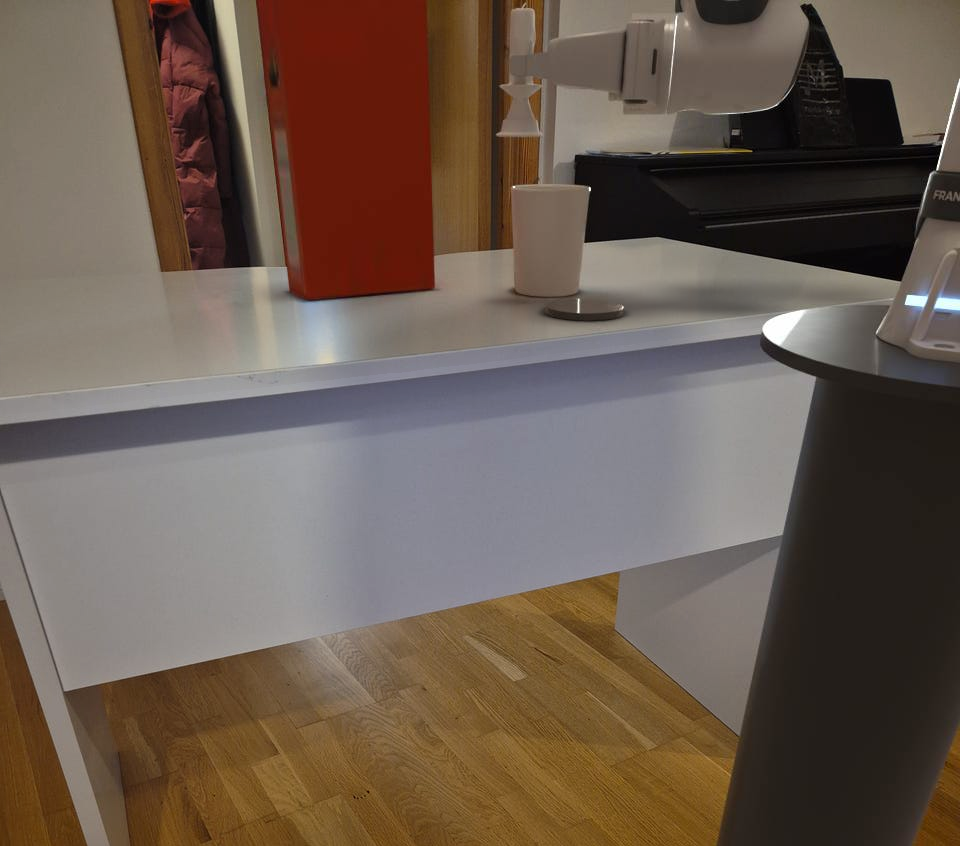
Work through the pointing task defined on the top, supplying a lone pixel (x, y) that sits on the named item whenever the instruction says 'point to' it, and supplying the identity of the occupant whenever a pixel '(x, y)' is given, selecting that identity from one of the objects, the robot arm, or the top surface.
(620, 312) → the slate coaster
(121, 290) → the top surface
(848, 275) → the top surface
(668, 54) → the robot arm
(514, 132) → the candle
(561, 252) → the white tapered cup
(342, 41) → the file binder
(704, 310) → the top surface
